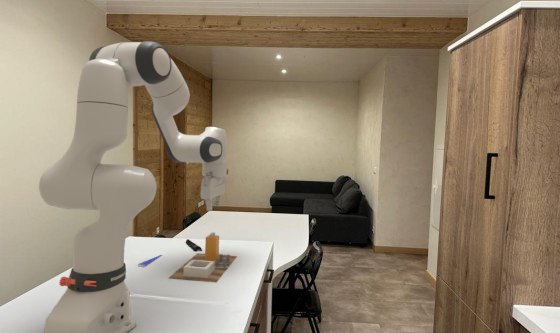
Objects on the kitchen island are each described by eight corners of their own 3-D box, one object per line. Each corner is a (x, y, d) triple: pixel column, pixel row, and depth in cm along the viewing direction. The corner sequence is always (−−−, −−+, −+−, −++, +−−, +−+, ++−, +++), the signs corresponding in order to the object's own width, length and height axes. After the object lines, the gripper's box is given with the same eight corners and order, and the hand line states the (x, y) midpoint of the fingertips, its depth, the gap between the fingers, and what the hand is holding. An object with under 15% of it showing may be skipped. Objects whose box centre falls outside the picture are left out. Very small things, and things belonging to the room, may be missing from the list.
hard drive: (157, 266, 129) (178, 257, 141) (138, 263, 132) (160, 254, 143) (156, 271, 129) (178, 261, 141) (137, 267, 132) (160, 258, 143)
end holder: (207, 278, 120) (207, 268, 120) (183, 276, 121) (183, 267, 120) (214, 269, 128) (214, 261, 127) (192, 268, 129) (192, 259, 128)
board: (216, 286, 116) (216, 271, 116) (167, 281, 118) (168, 267, 118) (236, 259, 144) (237, 247, 144) (197, 256, 146) (197, 244, 146)
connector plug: (215, 262, 136) (216, 234, 135) (204, 261, 136) (205, 234, 136) (218, 258, 140) (219, 232, 139) (208, 258, 140) (209, 231, 140)
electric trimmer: (191, 245, 163) (192, 238, 163) (203, 254, 149) (203, 246, 149) (183, 246, 161) (183, 239, 161) (194, 255, 147) (194, 248, 147)
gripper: (214, 173, 125) (213, 213, 126) (229, 169, 146) (228, 204, 147) (196, 172, 126) (195, 212, 127) (214, 168, 146) (213, 203, 147)
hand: (213, 208), depth 137 cm, fingers open, 8 cm apart
